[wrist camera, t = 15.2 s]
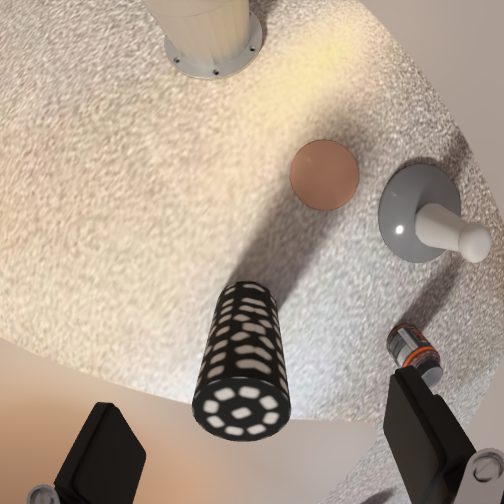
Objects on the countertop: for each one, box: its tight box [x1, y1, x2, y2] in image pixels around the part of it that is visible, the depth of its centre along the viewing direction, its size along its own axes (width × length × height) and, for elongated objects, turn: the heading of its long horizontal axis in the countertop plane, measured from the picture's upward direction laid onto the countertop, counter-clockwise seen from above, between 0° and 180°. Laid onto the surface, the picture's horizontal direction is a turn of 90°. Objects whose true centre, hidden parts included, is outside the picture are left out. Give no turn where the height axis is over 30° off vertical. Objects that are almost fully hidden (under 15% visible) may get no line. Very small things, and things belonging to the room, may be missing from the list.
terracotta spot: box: [290, 140, 359, 210], centre depth 37 cm, size 9×9×1 cm
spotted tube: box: [192, 281, 291, 442], centre depth 33 cm, size 8×8×20 cm
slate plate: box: [378, 164, 461, 263], centre depth 38 cm, size 14×14×1 cm
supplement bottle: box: [387, 324, 443, 389], centre depth 38 cm, size 6×6×11 cm
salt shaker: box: [414, 203, 491, 263], centre depth 31 cm, size 6×6×13 cm
